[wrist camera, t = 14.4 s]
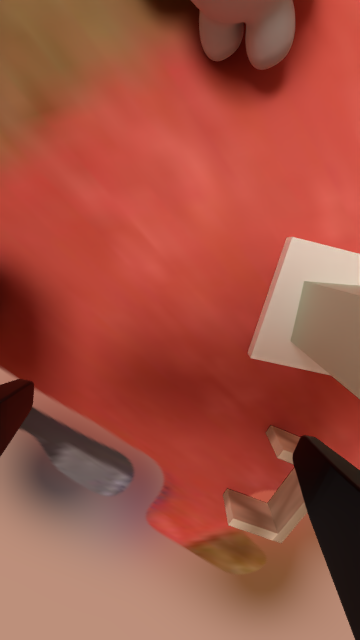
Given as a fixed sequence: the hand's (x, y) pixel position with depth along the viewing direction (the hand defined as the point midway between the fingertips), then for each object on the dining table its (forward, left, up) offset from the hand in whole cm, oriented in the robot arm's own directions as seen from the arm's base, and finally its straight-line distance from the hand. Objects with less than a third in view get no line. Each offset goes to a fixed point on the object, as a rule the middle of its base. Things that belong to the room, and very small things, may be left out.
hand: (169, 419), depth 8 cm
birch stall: (+13, -14, -13) cm, 24 cm away
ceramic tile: (+12, +3, -13) cm, 18 cm away
